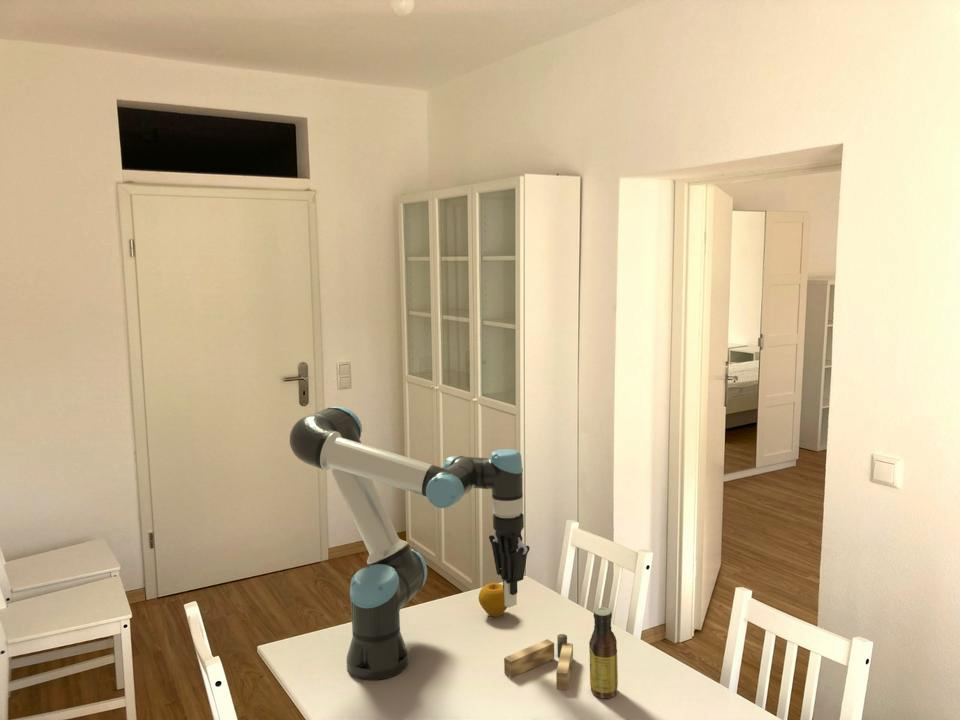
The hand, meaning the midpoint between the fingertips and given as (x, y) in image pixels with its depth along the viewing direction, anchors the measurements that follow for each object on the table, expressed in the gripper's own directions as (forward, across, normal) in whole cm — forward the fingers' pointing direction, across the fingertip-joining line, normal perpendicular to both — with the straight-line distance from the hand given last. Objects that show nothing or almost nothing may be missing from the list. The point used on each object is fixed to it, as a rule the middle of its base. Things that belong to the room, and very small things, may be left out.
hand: (510, 605), depth 193 cm
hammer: (+14, -13, -5) cm, 19 cm away
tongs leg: (+13, -6, 0) cm, 15 cm away
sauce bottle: (+14, -26, -5) cm, 30 cm away
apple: (+14, +21, -11) cm, 27 cm away
